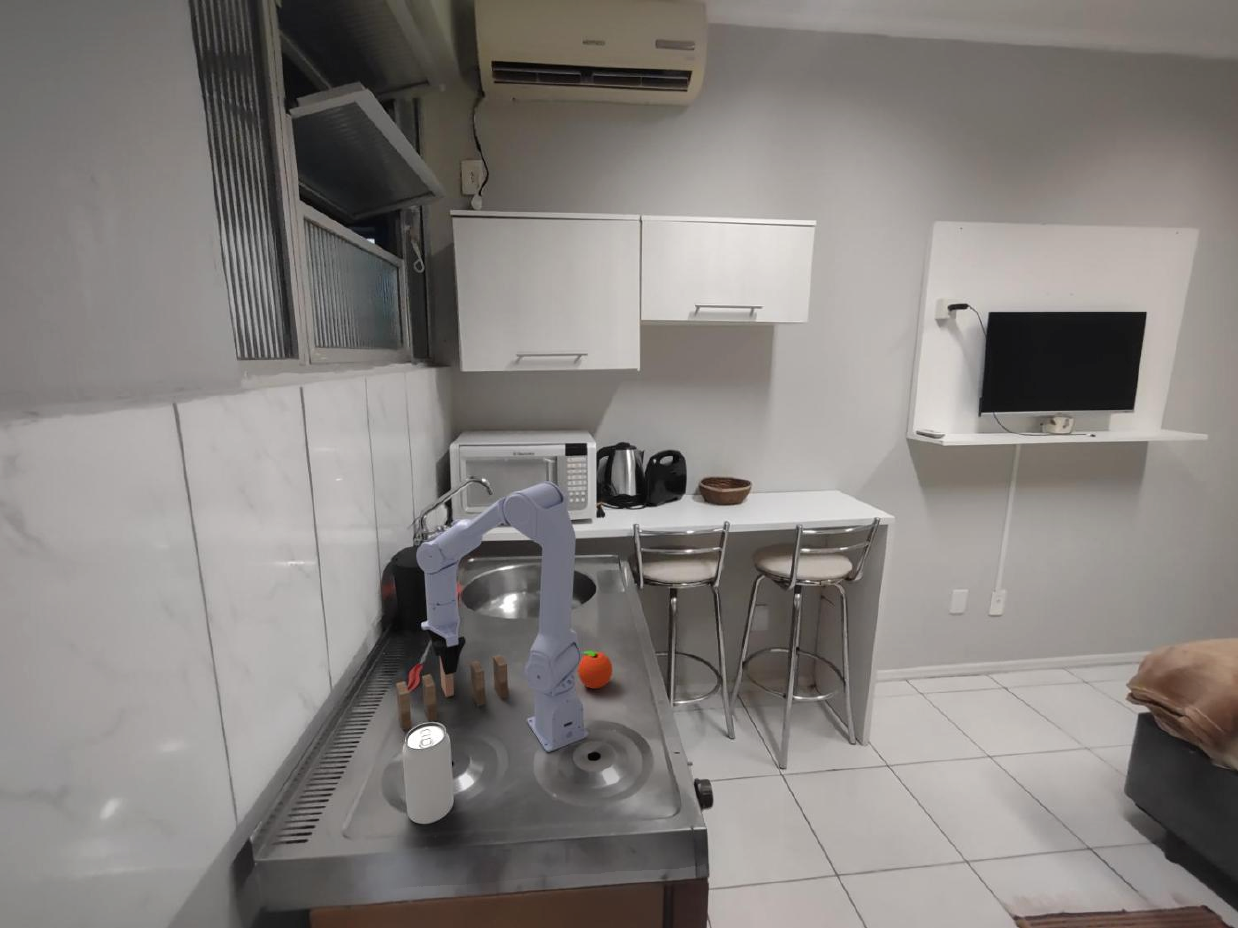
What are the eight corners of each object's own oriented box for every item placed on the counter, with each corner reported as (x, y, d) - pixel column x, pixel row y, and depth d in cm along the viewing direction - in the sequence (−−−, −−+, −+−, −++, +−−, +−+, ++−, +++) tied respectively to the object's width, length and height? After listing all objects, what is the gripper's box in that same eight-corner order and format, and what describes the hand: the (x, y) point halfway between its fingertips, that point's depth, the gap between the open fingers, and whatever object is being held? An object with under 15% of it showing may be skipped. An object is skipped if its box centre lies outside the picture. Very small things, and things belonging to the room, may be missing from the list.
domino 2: (437, 719, 98) (435, 684, 96) (428, 722, 97) (426, 687, 96) (432, 707, 101) (430, 673, 100) (424, 710, 100) (422, 676, 99)
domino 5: (508, 696, 105) (506, 663, 103) (500, 698, 104) (499, 665, 102) (501, 686, 108) (500, 654, 107) (494, 688, 107) (492, 656, 106)
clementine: (567, 685, 108) (566, 653, 107) (589, 670, 114) (589, 639, 112) (597, 700, 103) (597, 666, 102) (619, 683, 109) (619, 651, 108)
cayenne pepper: (407, 698, 104) (406, 689, 104) (386, 695, 105) (385, 687, 105) (440, 665, 116) (439, 657, 116) (420, 663, 117) (420, 655, 117)
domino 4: (485, 703, 102) (483, 670, 101) (477, 706, 101) (476, 672, 100) (479, 692, 106) (477, 660, 104) (472, 695, 105) (470, 662, 104)
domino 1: (411, 727, 95) (408, 692, 94) (402, 730, 95) (399, 694, 93) (407, 715, 99) (404, 681, 98) (398, 718, 98) (396, 683, 97)
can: (408, 832, 74) (402, 756, 72) (406, 798, 80) (400, 726, 78) (456, 817, 77) (452, 743, 74) (451, 785, 82) (447, 715, 80)
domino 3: (454, 694, 105) (452, 662, 104) (446, 697, 104) (444, 664, 103) (449, 684, 108) (447, 652, 107) (441, 686, 108) (439, 654, 106)
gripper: (413, 589, 107) (417, 651, 109) (428, 618, 95) (432, 688, 97) (448, 582, 110) (452, 642, 113) (468, 609, 98) (471, 676, 101)
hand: (445, 663), depth 105 cm, fingers open, 7 cm apart
